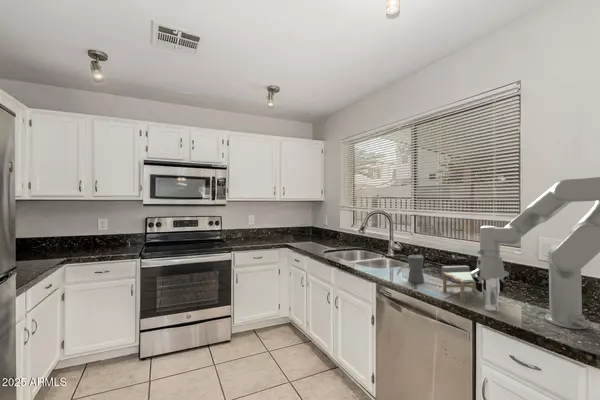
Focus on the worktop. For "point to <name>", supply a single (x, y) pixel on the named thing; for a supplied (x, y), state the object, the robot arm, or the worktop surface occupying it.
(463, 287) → the trapdoor stand
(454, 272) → the trapdoor
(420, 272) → the coffeepot
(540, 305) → the worktop surface
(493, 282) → the beer glass
